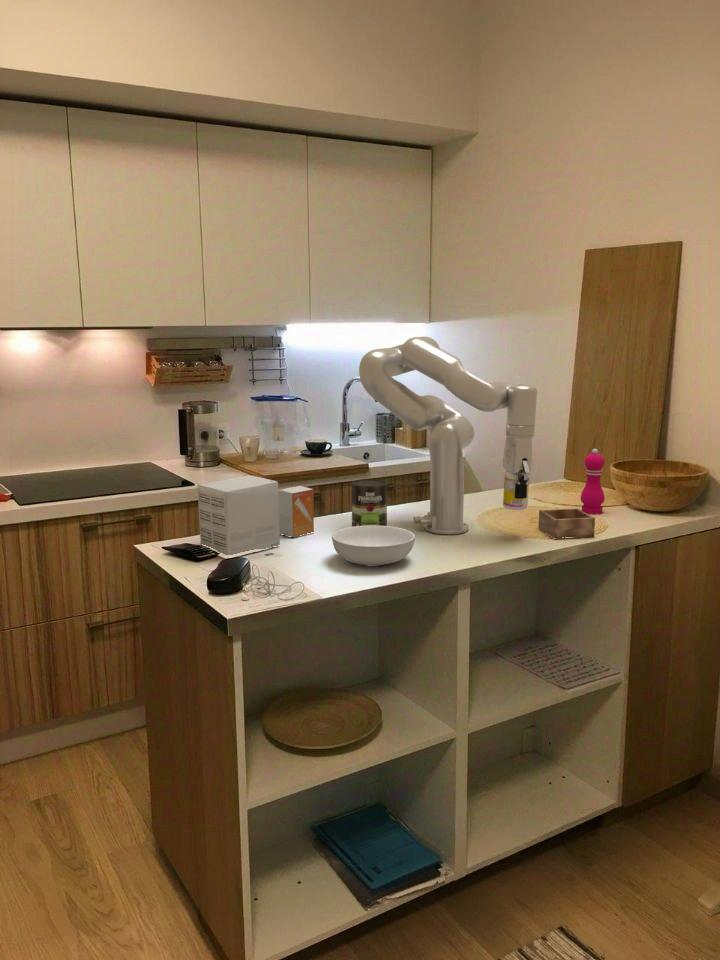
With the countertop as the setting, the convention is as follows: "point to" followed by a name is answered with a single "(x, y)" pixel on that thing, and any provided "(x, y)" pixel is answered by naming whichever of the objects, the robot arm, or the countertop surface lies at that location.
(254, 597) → the countertop surface
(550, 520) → the crate
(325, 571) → the countertop surface
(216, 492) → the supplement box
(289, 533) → the small box
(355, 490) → the coffee can
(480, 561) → the countertop surface
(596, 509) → the pepper mill
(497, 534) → the countertop surface
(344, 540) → the serving bowl
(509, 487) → the supplement bottle
